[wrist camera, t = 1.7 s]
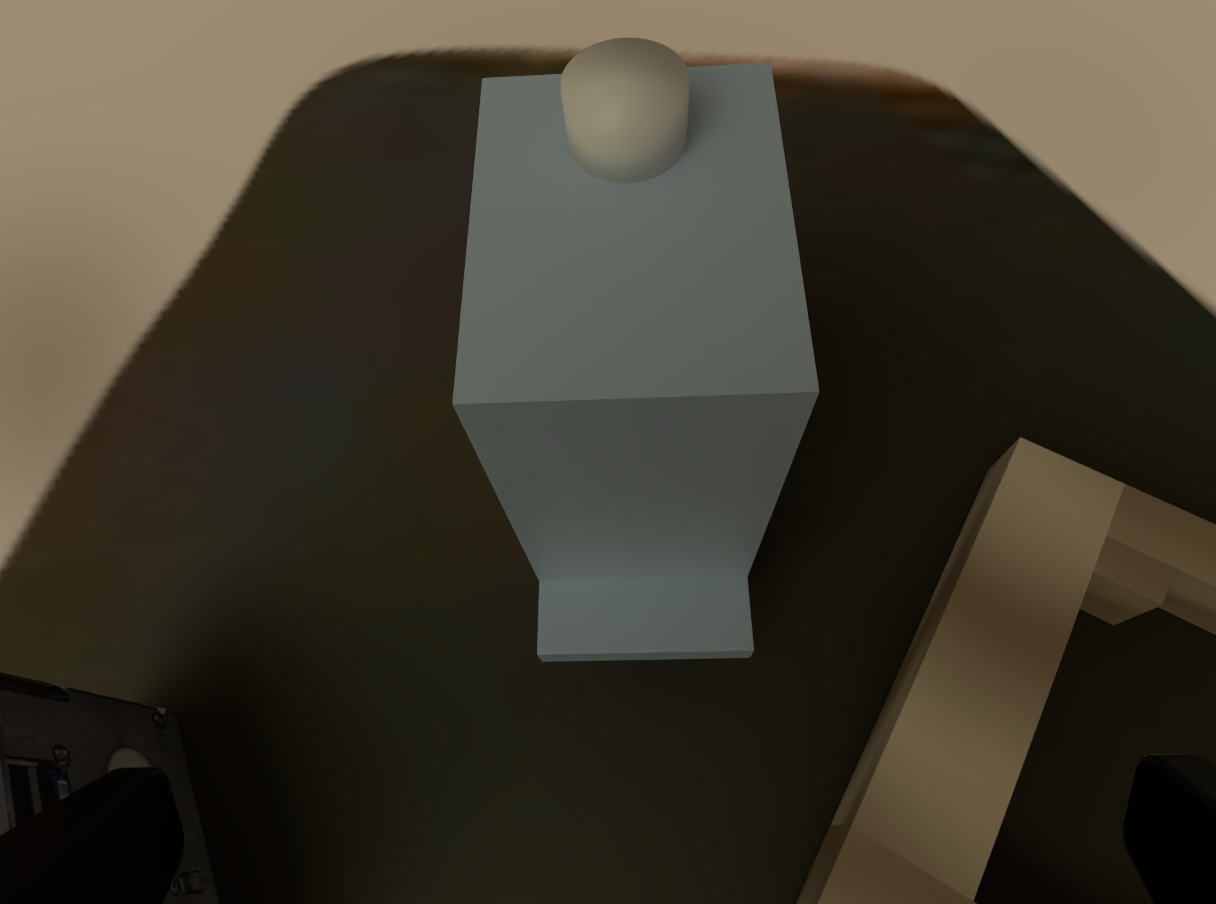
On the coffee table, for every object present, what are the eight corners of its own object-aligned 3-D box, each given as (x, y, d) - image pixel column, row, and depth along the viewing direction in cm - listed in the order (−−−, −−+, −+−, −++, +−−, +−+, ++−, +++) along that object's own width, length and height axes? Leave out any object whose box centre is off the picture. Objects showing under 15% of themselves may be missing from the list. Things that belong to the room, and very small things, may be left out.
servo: (740, 673, 19) (858, 478, 8) (553, 676, 19) (418, 490, 8) (714, 356, 23) (768, -65, 12) (560, 361, 23) (475, -47, 12)
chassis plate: (1394, 1353, 13) (1512, 1439, 11) (781, 935, 16) (796, 950, 14) (1486, 701, 17) (1582, 688, 16) (988, 470, 21) (1020, 437, 19)
